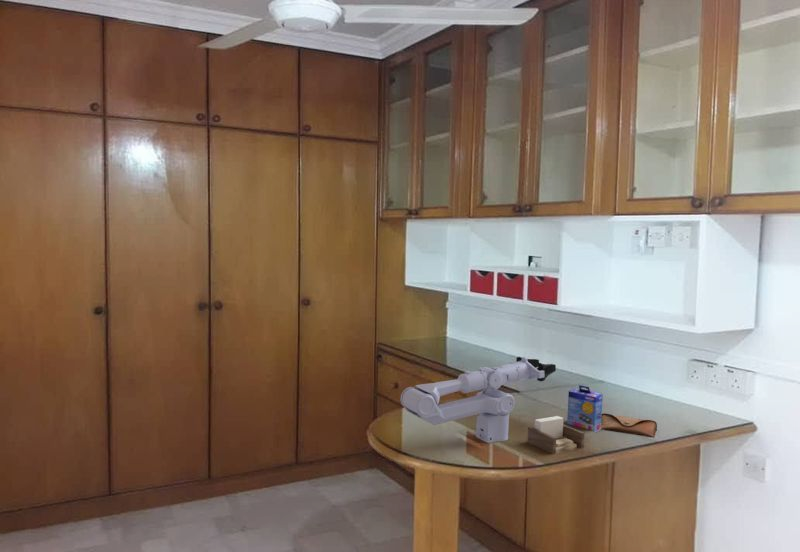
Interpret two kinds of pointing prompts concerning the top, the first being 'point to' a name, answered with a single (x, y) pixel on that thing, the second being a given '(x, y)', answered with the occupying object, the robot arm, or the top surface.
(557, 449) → the offcut lower
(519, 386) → the top surface
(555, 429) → the board
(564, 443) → the offcut upper
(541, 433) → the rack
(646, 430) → the sunglasses case
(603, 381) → the top surface
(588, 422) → the ink cartridge box
